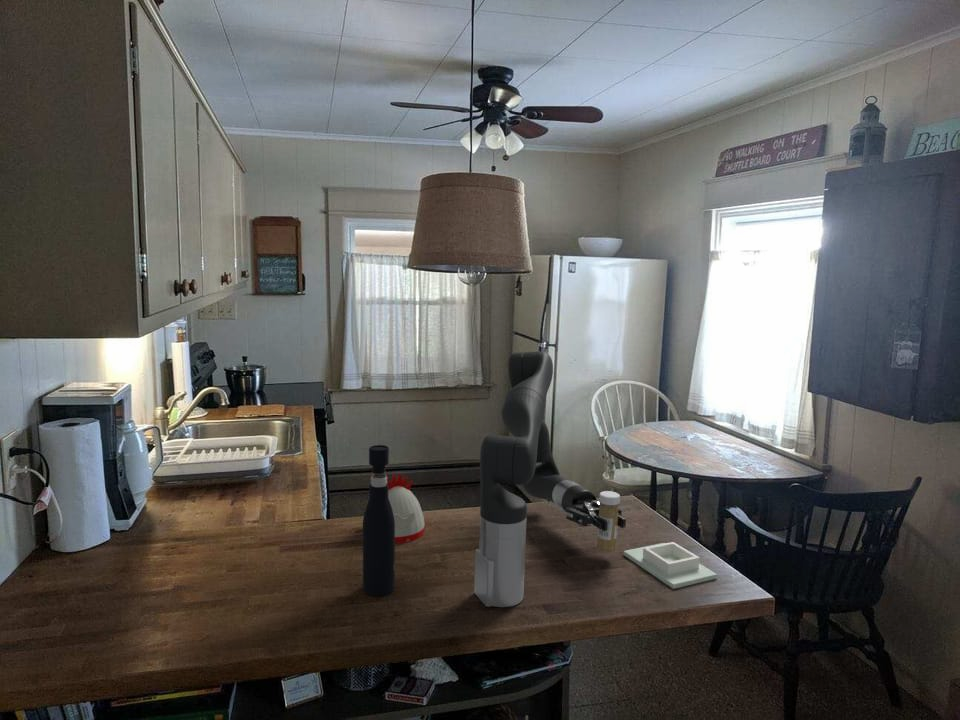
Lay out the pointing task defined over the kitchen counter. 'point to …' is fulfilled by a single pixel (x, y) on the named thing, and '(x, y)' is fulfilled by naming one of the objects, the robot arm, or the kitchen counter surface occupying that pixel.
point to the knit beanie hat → (405, 510)
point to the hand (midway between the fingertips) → (615, 525)
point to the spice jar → (608, 521)
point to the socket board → (671, 564)
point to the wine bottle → (378, 530)
